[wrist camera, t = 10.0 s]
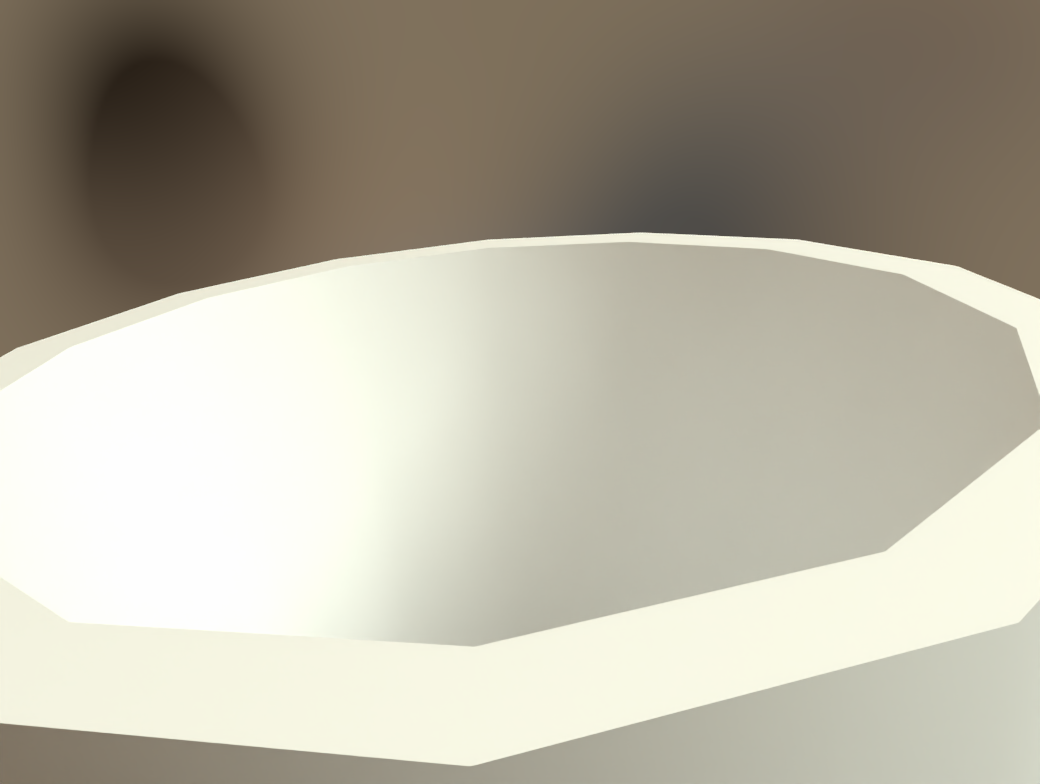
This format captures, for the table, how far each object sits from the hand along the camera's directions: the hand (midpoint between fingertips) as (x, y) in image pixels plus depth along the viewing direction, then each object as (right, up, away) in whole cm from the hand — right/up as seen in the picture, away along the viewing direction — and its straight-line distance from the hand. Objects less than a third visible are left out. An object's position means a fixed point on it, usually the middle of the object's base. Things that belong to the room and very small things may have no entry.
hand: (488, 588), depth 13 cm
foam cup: (+1, -9, -1) cm, 9 cm away
